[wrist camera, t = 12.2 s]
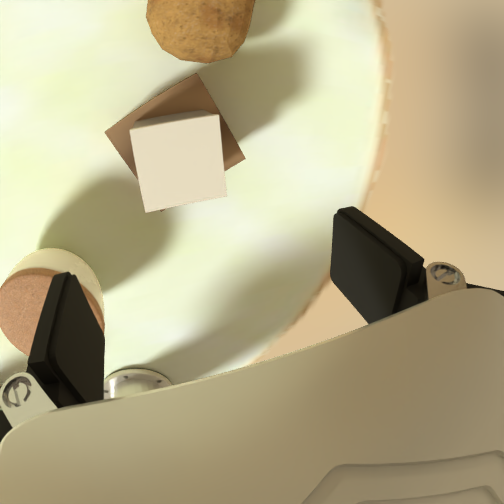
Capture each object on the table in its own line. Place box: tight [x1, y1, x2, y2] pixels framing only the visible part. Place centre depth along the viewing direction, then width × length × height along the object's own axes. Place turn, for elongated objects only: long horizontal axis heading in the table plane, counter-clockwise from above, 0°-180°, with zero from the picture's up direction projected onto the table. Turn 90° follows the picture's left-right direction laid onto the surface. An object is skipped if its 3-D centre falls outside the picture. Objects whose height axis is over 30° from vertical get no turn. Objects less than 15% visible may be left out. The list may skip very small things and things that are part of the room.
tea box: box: [105, 73, 246, 212], centre depth 29 cm, size 9×9×5 cm
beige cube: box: [130, 109, 227, 213], centre depth 24 cm, size 6×6×6 cm
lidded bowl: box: [0, 248, 105, 356], centre depth 29 cm, size 13×13×11 cm
